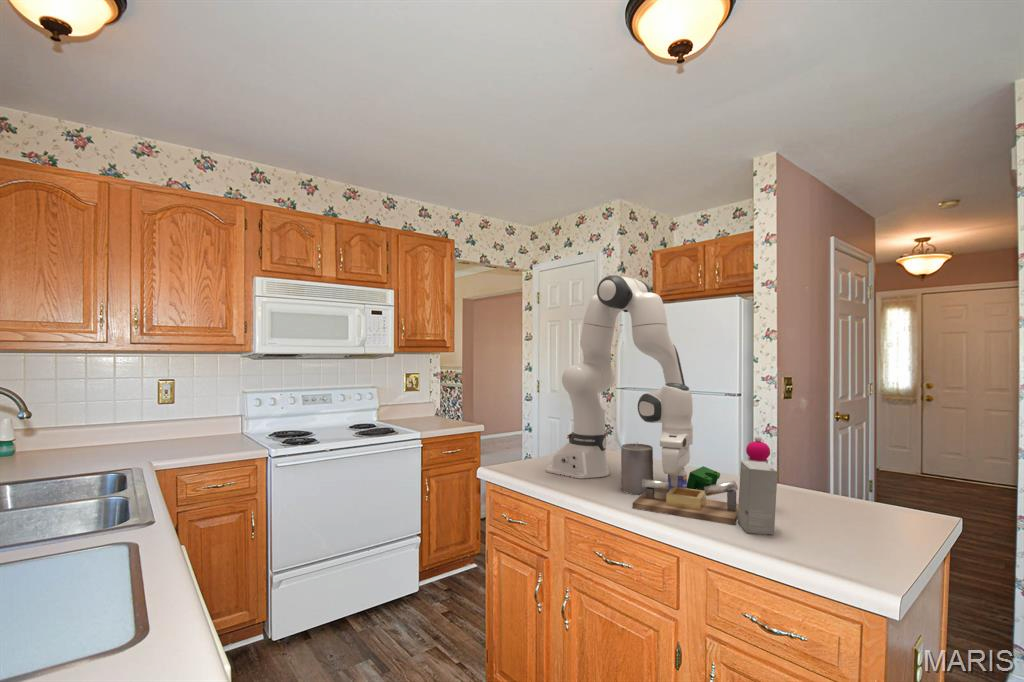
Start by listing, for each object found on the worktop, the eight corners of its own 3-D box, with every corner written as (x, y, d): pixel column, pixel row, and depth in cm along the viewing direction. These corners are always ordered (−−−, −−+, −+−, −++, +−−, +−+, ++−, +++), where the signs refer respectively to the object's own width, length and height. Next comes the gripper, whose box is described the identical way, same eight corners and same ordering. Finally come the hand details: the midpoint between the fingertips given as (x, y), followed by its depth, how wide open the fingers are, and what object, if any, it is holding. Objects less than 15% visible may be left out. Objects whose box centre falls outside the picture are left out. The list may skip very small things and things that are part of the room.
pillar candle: (636, 484, 162) (635, 438, 162) (660, 491, 154) (659, 442, 154) (614, 489, 157) (614, 441, 157) (638, 497, 148) (638, 446, 149)
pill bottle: (686, 498, 147) (686, 465, 147) (667, 496, 148) (667, 464, 149) (687, 494, 152) (686, 461, 152) (668, 492, 154) (668, 460, 154)
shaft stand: (632, 508, 138) (632, 474, 138) (646, 495, 150) (646, 464, 150) (734, 525, 125) (734, 487, 125) (741, 509, 137) (740, 475, 137)
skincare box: (736, 522, 127) (736, 459, 127) (767, 523, 126) (766, 460, 126) (746, 534, 118) (746, 467, 119) (779, 536, 117) (778, 468, 118)
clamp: (703, 506, 154) (706, 483, 150) (685, 497, 158) (687, 475, 154) (720, 485, 161) (722, 462, 158) (702, 477, 165) (704, 455, 162)
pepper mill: (746, 502, 143) (746, 432, 143) (775, 507, 139) (774, 435, 139) (741, 509, 137) (741, 436, 138) (771, 514, 133) (770, 439, 133)
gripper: (674, 431, 161) (674, 474, 161) (658, 441, 143) (658, 489, 143) (694, 433, 158) (694, 477, 157) (680, 443, 140) (680, 493, 140)
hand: (677, 483), depth 150 cm, fingers closed on pill bottle, 5 cm apart
